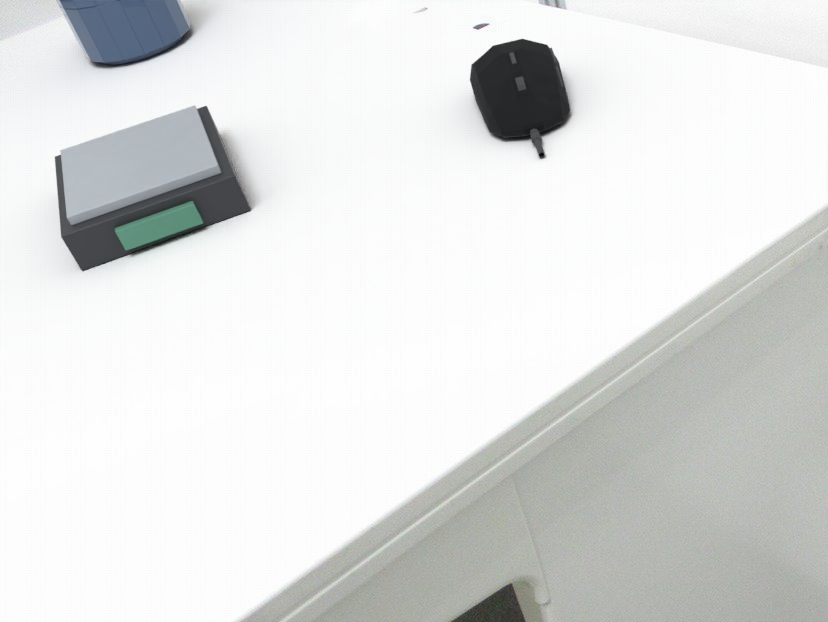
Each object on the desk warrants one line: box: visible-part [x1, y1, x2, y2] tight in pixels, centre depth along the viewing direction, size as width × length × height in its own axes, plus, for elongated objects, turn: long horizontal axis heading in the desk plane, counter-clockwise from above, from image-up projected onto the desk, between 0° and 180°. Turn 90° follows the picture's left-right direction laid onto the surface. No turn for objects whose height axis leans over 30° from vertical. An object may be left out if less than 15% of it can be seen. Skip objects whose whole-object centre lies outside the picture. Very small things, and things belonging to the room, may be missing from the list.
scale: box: [54, 104, 252, 272], centre depth 73 cm, size 15×11×3 cm
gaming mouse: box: [469, 38, 571, 159], centre depth 73 cm, size 6×15×4 cm, turn 12°
